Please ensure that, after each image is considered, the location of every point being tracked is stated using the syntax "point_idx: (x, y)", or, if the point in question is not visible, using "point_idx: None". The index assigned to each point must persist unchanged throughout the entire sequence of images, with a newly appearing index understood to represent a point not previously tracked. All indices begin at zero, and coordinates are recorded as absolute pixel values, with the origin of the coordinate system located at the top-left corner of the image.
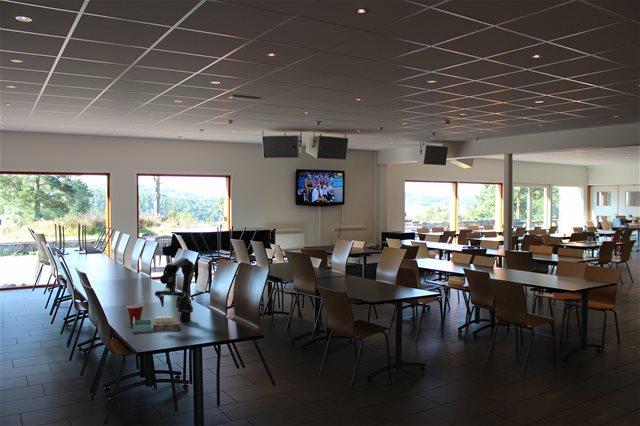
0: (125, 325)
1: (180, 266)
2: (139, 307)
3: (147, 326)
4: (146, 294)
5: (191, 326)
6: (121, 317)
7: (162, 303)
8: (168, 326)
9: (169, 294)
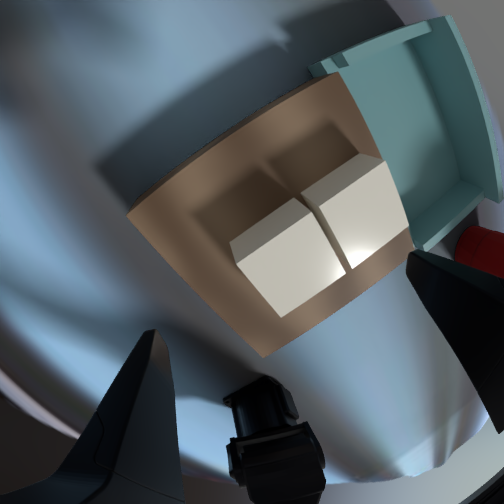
0: None
1: None
2: None
3: (362, 43)
4: (441, 445)
5: (133, 323)
6: None
7: (456, 277)
8: (211, 145)
9: None
